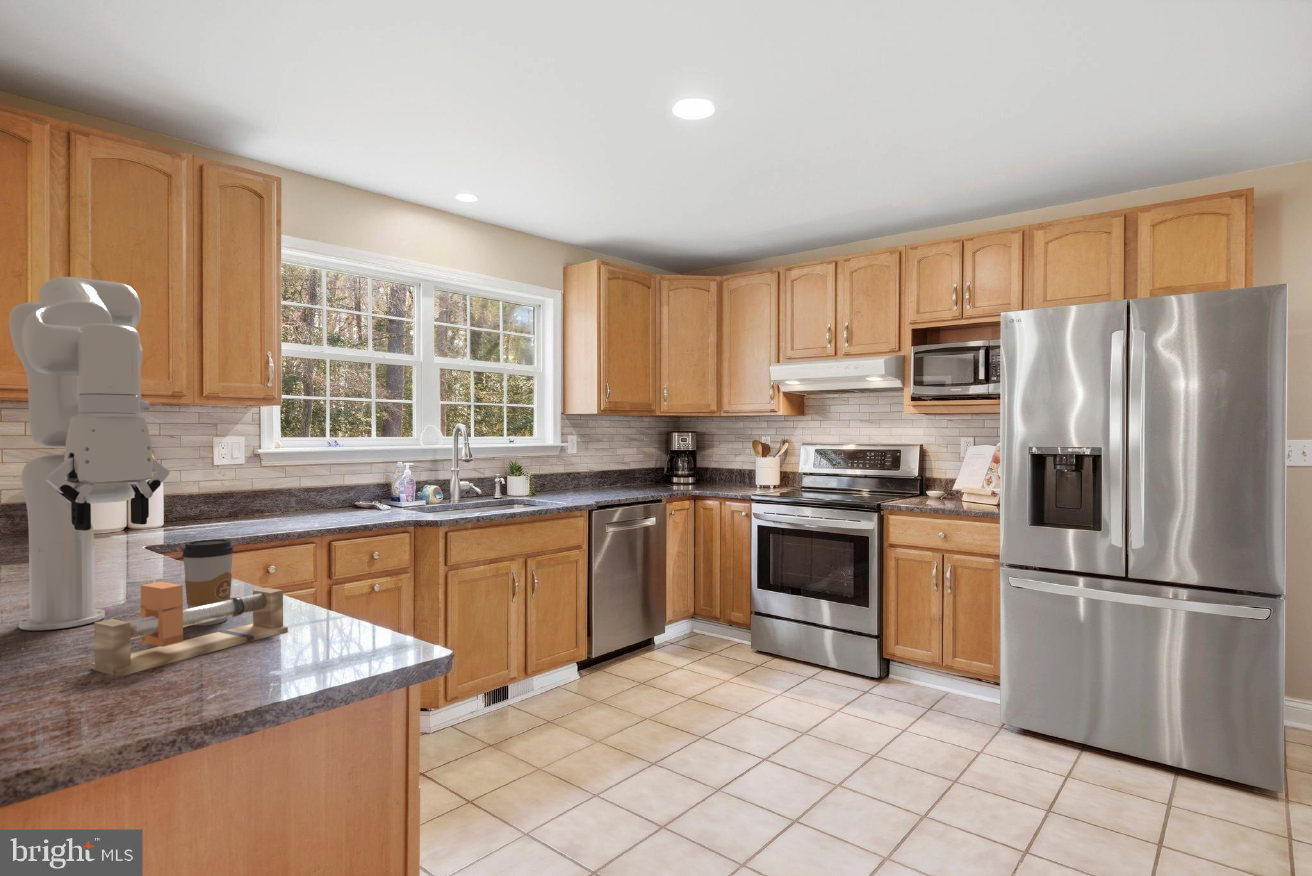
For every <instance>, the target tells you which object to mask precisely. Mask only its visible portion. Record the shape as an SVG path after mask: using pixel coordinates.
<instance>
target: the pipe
mask: <svg viewBox="0 0 1312 876" xmlns="http://www.w3.org/2000/svg"><path fill="white" fill-rule="evenodd" d="M266 604H267V600H266V597H265V595H264V594H262V593H259V594H255V595H253V594H251V595H246V596H245V595H244V596H242V597H239V596H236V597H230V599H229V600H226V601H221V602H217V603H212V604H207V605H202V606H197V607H193V608H188V607H187V608H183V628H186V627H190V626H196V625H195V624H199V623H204V622H208V621H212V620H217V619H221V618H225V617H227V618H229V617H233V618H235V617H239V616H241V615H244V614H247V613H251V612H253V611H256V610H260V609H264V608H265V607H266ZM125 622H130V638H131V640H133V639H138V638H141V637H143V636H147V635H152V634H156V633H158V615H155V616H150V617H145V618H141V617H140V618H136V619H132V620H126V621H125Z"/></svg>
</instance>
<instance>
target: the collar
mask: <svg viewBox="0 0 1312 876" xmlns="http://www.w3.org/2000/svg"><path fill="white" fill-rule="evenodd" d="M183 589H184V588H183V585H182V584H176V583H171V582H166V581H157V582H151V583H147V584H141V585H140V618H145V617H150V616H155V615H158V633H156V634H152V635H147V636H143V637H140V642H141V643H143V644H149V645H153V646H156V647H159V646H161V647H164V646H168V645H173V644H177V643H181V642H183V641H184V627H183V609H184V607H183V606H184V605H183V604H184V603H183V602H184V600H183V598H184V597H183V596H184V595H183Z"/></svg>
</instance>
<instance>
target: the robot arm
mask: <svg viewBox="0 0 1312 876" xmlns="http://www.w3.org/2000/svg"><path fill="white" fill-rule="evenodd" d="M141 317H142V305H141V300H140V297H139V296H138V293H137V291H135V290H134V288H132V286H130V285H128V284H125V283H122V282H116V281H109V280H101V279H99V280H98V279H93V278H91V279H90V278H83V277H76V276H60V277H54V278H52V279H49V280H48V281H46V282H44V283H43V284H42V286H41V287H40V288H39V291H38V302H37V301H36V302H24V303H20V304H17V305H15V306H14V307H13V308H12V309H11V311H10V314H9V318H8V320H9V321H8V322H9V323H8V324H9V325H8V326H9V334H10V338H11V342H12V345H13V347H14V350H15V353H16V355H17V356H18V358H19V361H20V363H21V364H22V367H23V369H24V371H25V374H26V380H27V393H28V394H27V395H28V396H27V397H28V414H29V415H28V417H29V429H30V434H31V435H30V436H31V438H32V440H33V442H34V443H35V444H36V445H38V446H40V447H43V448H48V449H49V448H50V449H64V454H50V455H42V456H38V457H36V458H33V459H31V460H29V461H28V462H27V463H26V464H25V465H24V466H23V468H22V472H21V485H22V490H23V495H24V499H25V504H26V510H27V522H28V524H27V525H28V526H27V527H28V559H29V560H28V561H29V562H28V563H29V564H28V567H29V568H28V570H29V571H28V573H29V575H28V577H29V616H28V617H25V618H22V619H20V620H19V621H18V628H19V629H20V630H24V631H51V630H61V629H68V628H73V627H79V626H84V625H87V624H88V625H89V624H92V623H94V622H99V621H102V619H104V618H105V616H106V612H105V610H104V609H101V608H96V607H95V597H96V595H95V536H94V535H95V531H94V530H95V529H94V526H93V524H92V509H91V508H92V504H106V503H118V502H119V503H120V502H126V501H129V500H130V522H131V524H133V525H147V524H148V518H149V516H150V506H149V505H150V504H149V501H150V498H152V497H153V494H154V493H155V492H156V491H157V489H158V488H160V487H161V484H162V483H163V482H164V481H165V480H166V479H167V478H168V476H169V475H170V471H169V470H168V469H167V468H165V466H163V465H162V464H161V463H159V462H158V461H157V460H155V459H154V458H153V451H152V443H151V442H152V441H151V436H150V430H149V425H148V422H147V419H146V417H144V416H143V417H142V414H143V411H144V410H145V411H148V410H150V408H151V405H150V402H149V401H148V400H146V401H145V400H143V396H142V390H141V389H142V387H141V386H142V385H141V384H142V382H141V379H142V378H141V367H142V365H143V358H144V354H143V346H142V344H141V336H140V334H139V332H138V331H137V330H136V329H137V327H138V326H139V323H140V320H141ZM150 478H151V479H150Z"/></svg>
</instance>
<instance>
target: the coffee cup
mask: <svg viewBox="0 0 1312 876" xmlns="http://www.w3.org/2000/svg"><path fill="white" fill-rule="evenodd" d="M233 548H234V546H233V545H232V542H231V539H222V538H221V539H220V538H219V539H205V540H204V539H202V540H201V539H200V540H195V541H189V542H186V543H185V545H184V548H183V550H182V556H181V557H182V558H183V565H184V576H185V577H184V584H185V596H186V605H187V609H188V608H193V607H197V606H202V605H207V604H212V603H217V602H221V601H226V600H229V599H231V593H232V591H231V590H232V578H233V577H232V576H233V575H232V568H233V555H234V554H233V553H234V552H235V551H234V549H233ZM227 620H228V617H225V618H221V619H217V620H212V621H208V622H204V623H199V624H195V625H194V626H208V625H209V626H210V625H217V624H221V623H225V621H227Z"/></svg>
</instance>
